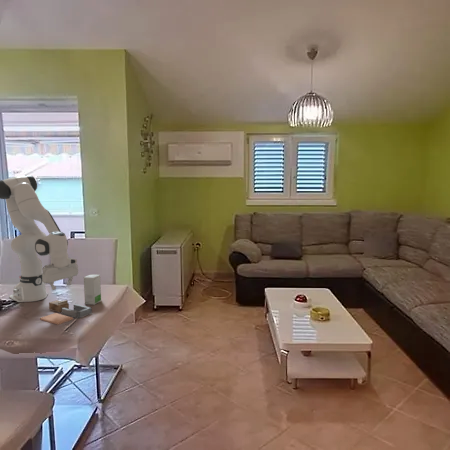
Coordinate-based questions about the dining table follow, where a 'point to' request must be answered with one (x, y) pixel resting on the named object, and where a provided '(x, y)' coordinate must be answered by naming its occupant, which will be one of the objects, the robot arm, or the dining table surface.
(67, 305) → the walnut block
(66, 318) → the rubber pad
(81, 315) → the frame
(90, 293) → the skincare box
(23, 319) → the dining table surface
